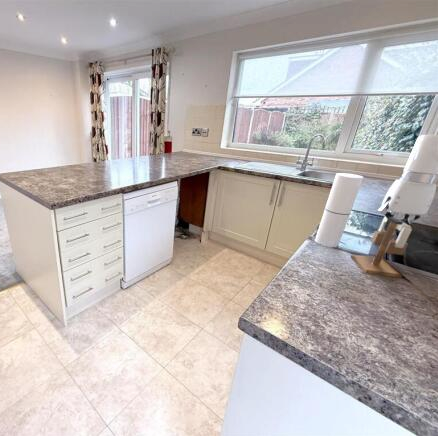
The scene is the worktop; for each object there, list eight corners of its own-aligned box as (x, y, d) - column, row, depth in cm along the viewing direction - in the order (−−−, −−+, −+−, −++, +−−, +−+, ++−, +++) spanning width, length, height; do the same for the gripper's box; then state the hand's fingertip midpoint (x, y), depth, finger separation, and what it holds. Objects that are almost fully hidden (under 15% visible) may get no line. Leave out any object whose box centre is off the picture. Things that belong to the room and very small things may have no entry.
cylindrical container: (310, 240, 91) (331, 174, 82) (322, 236, 94) (343, 172, 85) (331, 249, 85) (356, 178, 76) (342, 244, 88) (368, 176, 79)
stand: (382, 261, 79) (403, 215, 72) (401, 278, 71) (427, 227, 64) (350, 257, 81) (368, 212, 74) (365, 273, 73) (387, 223, 66)
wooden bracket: (383, 244, 88) (396, 216, 84) (403, 259, 79) (418, 228, 75) (368, 242, 89) (380, 214, 85) (385, 256, 80) (399, 226, 76)
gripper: (440, 176, 76) (414, 230, 83) (379, 173, 79) (359, 224, 87) (462, 182, 69) (431, 240, 76) (395, 178, 73) (371, 233, 80)
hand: (393, 231), depth 81 cm, fingers closed on wooden bracket, 2 cm apart
